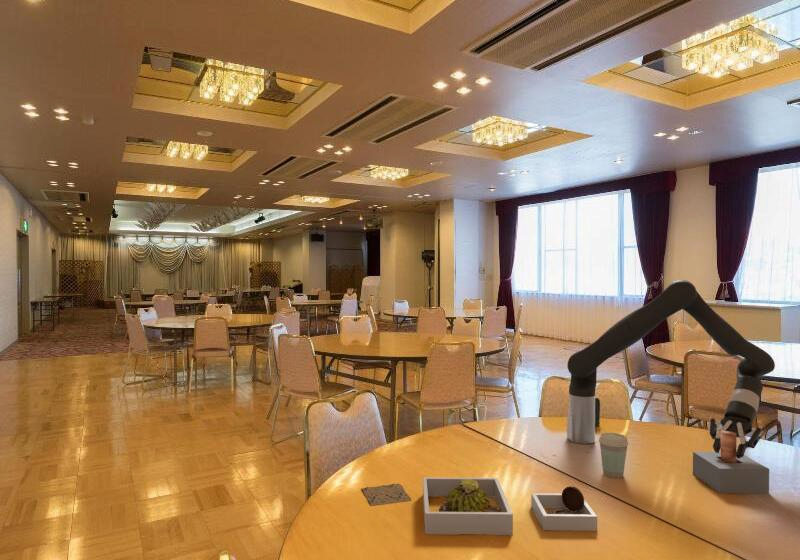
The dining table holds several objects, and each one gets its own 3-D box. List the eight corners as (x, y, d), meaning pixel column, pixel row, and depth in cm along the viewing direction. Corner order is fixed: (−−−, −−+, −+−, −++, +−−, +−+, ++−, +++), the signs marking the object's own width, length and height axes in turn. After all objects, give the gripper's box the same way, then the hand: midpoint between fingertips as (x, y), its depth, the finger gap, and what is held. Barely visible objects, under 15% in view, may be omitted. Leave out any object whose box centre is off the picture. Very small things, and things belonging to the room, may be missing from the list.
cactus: (484, 540, 124) (484, 499, 123) (426, 522, 132) (426, 484, 132) (511, 512, 138) (512, 475, 138) (457, 497, 147) (457, 463, 147)
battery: (594, 422, 218) (594, 395, 218) (600, 425, 215) (600, 397, 215) (580, 424, 216) (580, 396, 216) (585, 426, 213) (586, 398, 213)
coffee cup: (631, 481, 158) (631, 441, 158) (601, 478, 160) (601, 439, 159) (624, 470, 166) (625, 432, 166) (596, 468, 168) (596, 431, 168)
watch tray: (543, 530, 128) (543, 516, 128) (531, 506, 141) (531, 493, 141) (597, 530, 128) (597, 516, 128) (579, 506, 141) (580, 493, 141)
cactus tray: (425, 534, 126) (425, 513, 126) (422, 494, 148) (422, 477, 148) (512, 535, 126) (512, 514, 126) (497, 495, 148) (497, 477, 148)
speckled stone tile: (370, 508, 141) (370, 505, 141) (360, 490, 152) (360, 486, 152) (412, 502, 144) (412, 499, 144) (399, 485, 156) (399, 481, 156)
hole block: (719, 492, 149) (719, 468, 149) (692, 473, 163) (692, 451, 163) (768, 493, 149) (769, 468, 149) (738, 474, 163) (738, 451, 163)
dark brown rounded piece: (546, 518, 134) (547, 490, 134) (564, 509, 139) (564, 482, 139) (575, 530, 128) (575, 500, 128) (592, 520, 133) (592, 491, 133)
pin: (726, 482, 154) (725, 434, 154) (718, 477, 158) (717, 430, 158) (739, 482, 154) (739, 434, 154) (731, 477, 158) (731, 430, 158)
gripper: (713, 395, 166) (697, 441, 159) (766, 404, 155) (751, 454, 148) (720, 409, 169) (704, 454, 162) (772, 419, 158) (758, 468, 151)
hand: (727, 454), depth 155 cm, fingers open, 5 cm apart
